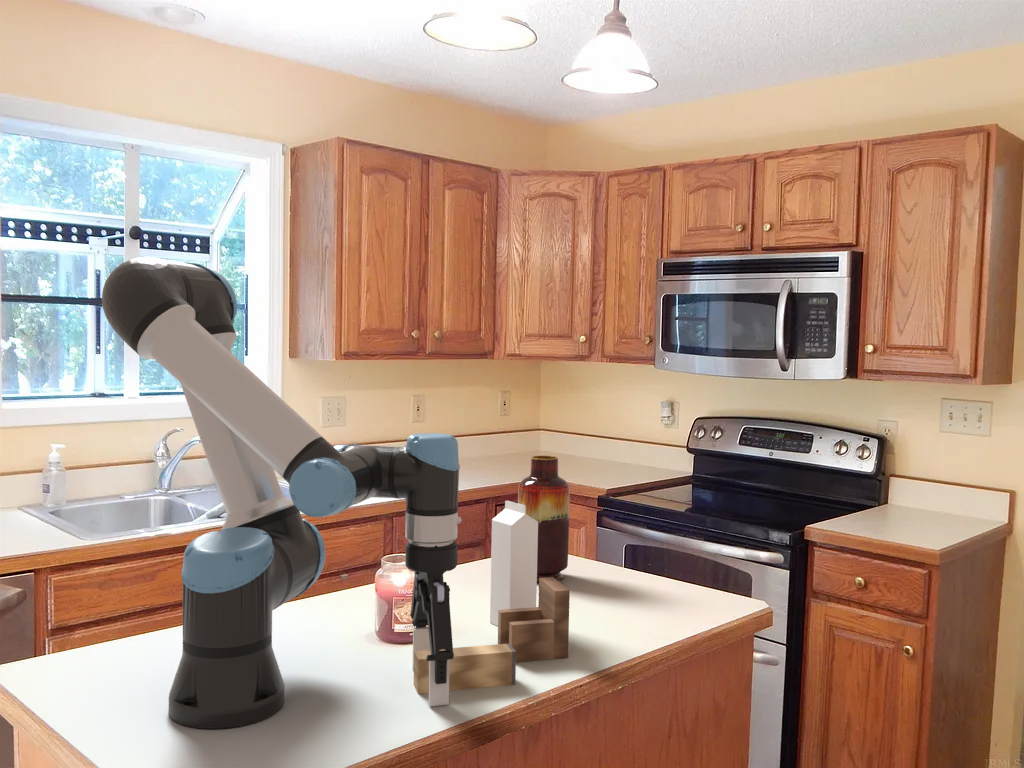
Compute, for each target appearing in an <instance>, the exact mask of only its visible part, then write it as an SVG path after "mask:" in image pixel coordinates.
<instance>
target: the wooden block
mask: <svg viewBox="0 0 1024 768" xmlns="http://www.w3.org/2000/svg"><path fill="white" fill-rule="evenodd" d="M439 651H445V649H441V650H439ZM453 653H454V658H453V659H450V660H449V692H451V691H452V692H453V691H459V690H460V691H461V690H473V689H481V688H482V689H484V688H492V687H494V688H495V687H503V686H506V687H507V686H513V685H514V686H515V685H516V673H517V672H516V671H517V670H516V668H517V662H516V651H515V650H514V648H513V647H512V646H511V645H510V644H498V643H496V644H488V645H487V644H485V645H475V646H474V645H473V646H462V647H461V646H460V647H453ZM427 655H431V650H421V651H414V672H413V686H414V689H415V691H416V693H417V694H418V695H420V694H427V693H428V694H429V661H427V660H426V657H427Z"/></svg>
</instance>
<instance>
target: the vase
mask: <svg viewBox="0 0 1024 768" xmlns="http://www.w3.org/2000/svg"><path fill="white" fill-rule="evenodd" d="M517 489H518V490H517V503H518V504H522V505H525V507H526V515H528V516H530V517H531V518H533V519H535V520H536V521H538V549H537V582H539V578H544V577H554V578H555V579H556V580H557V581H559V580H561V579H562V578H564V575H563V574H562V572H563V571H564V570H566V569H567V568H568V564H569V561H568V560H569V539H570V538H569V537H570V535H569V533H570V532H569V531H570V500H571V499H570V493H571V492H570V484H569V483H568V482H567V480H566V479H564V478H562V477H560V476H559V457H558V456H554V455H533V456H531V459H530V474H529V475H528V476H526V477H525V478H522V480H521V481H520V482H519V484H518V488H517ZM562 580H563V579H562ZM562 580H561V581H562ZM559 582H560V581H559Z"/></svg>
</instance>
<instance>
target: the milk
mask: <svg viewBox="0 0 1024 768" xmlns="http://www.w3.org/2000/svg"><path fill="white" fill-rule="evenodd" d="M490 549H491V550H490V551H491V555H490V559H491V560H490V597H489V599H490V602H489V605H490V606H489V607H490V608H489V609H490V610H489V611H490V612H489V623H490V624H491V625H494V626H495V627H498V610H503V609H517V608H532V607H537V585H538V583H537V549H538V521H536V520H535V519H533V518H531V517H530V516H528V515H526V507H525V505H522V504H518V502H514V501H510V500H505V501H504V508H503V510H502V511H500V512H499V513H497V514H496V516H495V517H493V518H492V519H491V548H490Z"/></svg>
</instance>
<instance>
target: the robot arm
mask: <svg viewBox="0 0 1024 768" xmlns="http://www.w3.org/2000/svg"><path fill="white" fill-rule="evenodd" d="M235 293H236V292H235V291H234V289H233V287H232V285H231V283H230V282H229V281H228V280H227V279H226V278H225V277H224V276H223V275H222V274H220V272H218V271H216V270H214V269H212V268H210V267H207V266H204V265H202V264H199V263H197V262H196V263H195V262H179V261H173V260H167V259H161V258H158V257H151V256H143V257H136V258H135V257H134V258H132V259H128V260H126V261H124V262H122V263H121V264H119V265H118V266H116V267H115V268H114V269H113V271H112V270H111V272H110V273H109V275H108V277H107V278H106V280H105V282H104V284H103V288H102V293H101V305H102V310H103V314H104V316H105V318H106V319H107V321H108V324H109V325H110V327H111V328H112V329H113V331H114V332H115V333H116V334H117V335H118V336H119V338H121V340H122V341H123V342H124V343H126V344H127V346H129V347H130V348H131V349H132V351H134V352H135V353H136V354H137V355H138V356H139V357H140V358H141V359H143V360H155V361H156V362H157V363H158V364H159V365H161V366H162V367H163V368H164V370H166V371H167V372H168V373H169V374H170V375H171V376H173V378H175V379H176V380H177V381H178V382H179V383H180V387H181V388H182V389H181V390H182V392H183V394H184V397H185V400H186V402H187V406H188V408H189V411H190V413H191V418H192V419H193V424H194V426H195V428H196V431H197V433H198V437H199V440H200V442H201V444H202V448H203V451H204V454H205V456H206V460H207V462H208V464H209V469H210V471H211V473H212V476H213V479H214V482H215V485H216V488H217V491H218V493H219V496H220V498H221V499H220V500H221V502H222V504H223V507H224V509H225V513H226V519H225V521H224V524H223V525H222V527H221V529H220V530H212V531H210V532H205V533H204V534H201V535H199V536H197V537H195V538H193V539H192V540H191V541H190V542H189V543H188V545H187V546H186V548H185V550H184V553H183V562H182V567H181V572H180V573H181V575H180V576H181V580H182V655H181V657H180V661H179V664H178V667H177V670H176V673H175V674H174V675H175V676H174V678H173V679H174V680H173V683H172V684H171V688H170V691H169V693H168V715H169V717H170V719H172V720H173V721H175V722H176V723H178V724H179V725H183V726H186V727H190V728H197V729H210V730H211V729H227V728H228V729H229V728H235V727H241V726H245V725H248V724H249V725H250V724H252V723H255V722H260V721H261V720H265V719H266V718H268V717H270V716H272V715H274V714H276V713H277V712H278V711H279V710H280V709H281V708H283V706H284V704H285V699H286V698H285V695H286V694H285V693H286V692H285V683H284V682H285V681H284V678H283V675H282V673H281V669H280V667H279V665H278V661H277V659H276V655H275V652H274V649H273V611H274V610H276V609H277V608H279V607H281V606H282V605H284V604H285V603H286V602H289V601H290V600H293V599H294V598H295V599H296V598H298V597H300V596H301V595H302V594H304V593H305V592H306V591H308V589H309V588H310V587H312V585H314V583H315V582H316V581H317V580H318V579H319V577H320V576H321V573H322V571H323V569H324V566H325V564H326V563H325V562H326V555H327V554H326V553H327V552H326V545H325V541H324V539H323V536H322V534H321V532H320V531H319V529H318V528H317V527H316V525H315V524H314V523H310V522H309V521H307V519H304V518H303V517H302V514H303V515H306V516H308V517H312V518H325V517H329V516H333V515H334V516H336V515H338V514H341V513H343V512H344V511H345V510H347V509H349V508H350V507H352V506H354V505H358V504H359V503H362V502H363V501H365V500H369V499H371V498H381V499H383V498H386V499H387V498H388V499H396V500H397V499H400V500H401V499H404V500H405V504H406V506H405V539H406V540H407V542H406V544H405V562H404V563H405V567H406V568H407V569H408V570H410V571H412V572H414V578H413V588H412V598H411V609H410V614H409V616H410V619H411V621H412V623H411V625H412V626H413V627H412V672H413V673H414V651H421V650H431V655H427V657H426V660H427V661H429V693H428V706H429V707H435V706H444V705H449V704H450V691H449V660H450V659H453V658H454V653H453V648H454V646H453V644H454V643H453V634H452V633H453V632H452V620H451V618H452V617H451V606H450V592H451V588H450V586H449V585H448V583H447V581H445V580H444V574H445V573H446V572H450V571H453V570H454V569H455V568H456V567H457V566H458V549H459V548H458V543H457V542H456V539H457V538H458V529H459V528H458V524H461V523H462V517H461V516H458V513H459V512H458V511H459V506H458V505H459V484H460V483H459V481H460V478H459V477H460V468H461V465H460V464H459V463H460V461H459V443H458V439H456V437H455V436H454V435H452V434H447V433H441V432H440V433H436V432H435V433H434V432H433V433H432V432H431V433H428V432H427V433H425V432H424V433H420V432H419V433H413V434H410V435H409V436H408V437H407V439H406V444H405V446H384V445H383V446H382V445H367V444H366V445H365V444H359V443H350V444H336V445H332V444H331V443H330V442H329V441H328V440H327V439H325V438H324V437H323V436H322V435H321V434H320V433H319V432H318V431H317V430H316V429H315V428H314V427H312V426H311V424H310V423H308V422H307V421H306V419H304V418H303V417H302V416H301V415H299V414H298V413H297V412H296V411H295V410H294V409H293V408H292V407H291V406H290V405H289V404H287V403H286V401H284V400H283V399H282V397H280V396H279V395H278V394H277V393H276V392H274V391H273V390H272V389H271V388H270V387H269V386H268V385H267V384H266V383H265V382H263V380H262V379H260V378H259V377H258V376H257V375H256V374H255V373H254V372H253V371H252V370H250V369H249V368H248V367H247V366H246V365H245V364H244V363H243V362H241V360H240V359H238V358H237V357H236V356H235V355H234V354H233V352H232V348H233V347H232V346H233V345H234V343H235V341H236V339H237V337H238V336H237V333H236V330H235V327H234V324H235V316H236V315H237V314H238V301H237V300H238V299H237V296H236V294H235ZM275 472H276V473H277V474H278V475H279V476H280V477H281V478H282V479H284V480H285V481H286V482H287V483H288V485H289V486H288V491H289V495H290V498H291V499H290V498H288V497H286V496H285V495H284V494H283V492H282V489H281V486H280V484H279V480H278V478H277V475H276V473H275ZM441 649H445V651H439V650H441Z"/></svg>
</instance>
